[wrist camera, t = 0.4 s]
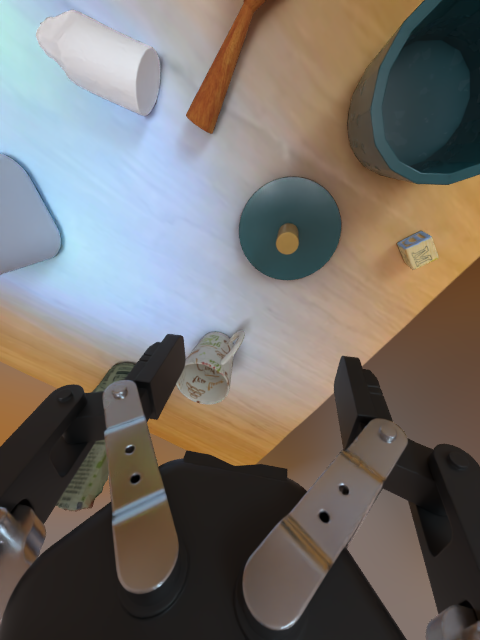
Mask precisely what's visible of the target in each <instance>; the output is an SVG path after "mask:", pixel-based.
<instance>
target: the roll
mask: <svg viewBox="0 0 480 640" xmlns="http://www.w3.org/2000/svg"><path fill="white" fill-rule="evenodd" d="M40 25H41V26H40V27H39V28H38V29H37V32H36V38H37V40H38V43H39V45H40V47H41V48H42V49H43V50H44V51H45V53H46V54H47V55H48V56H49V57H51V58H52V59H54V60H55V61H56V62H57V63H58V64H59V65H60V67H61V68H62V69H63V70H64V71H65V73H66V75H67V76H68V78H69V79H70V80H71V81H72V82H73V83H75V84H76V85H77V86H79V87H81V88H83V89H85V90H87V91H89V92H91V93H93V94H96V95H98V96H100V97H102V98H104V99H106V100H108V101H111V102H113V103H115V104H117V105H119V106H122V107H124V108H127V109H129V110H131V111H133V112H136V113H138V114H140V115H142V116H146V115H148V114H149V113H150V112H151V111H152V109H153V107H154V105H155V102H156V100H157V97H158V93H159V87H160V61H159V57H158V54H157V52H156V51H155V50H154V49H153V48H152V47H150V46H148V45H146V44H143V43H141V42H139V41H137V40H134V39H132V38H130V37H128V36H126V35H124V34H122V33H120V32H118V31H116V30H113V29H111V28H109V27H108V26H105V25H104V24H102V23H100V22H98V21H96V20H94V19H93V18H90V17H88V16H86V15H84V14H82V13H80V12H78V11H75V10H69V11H67V12H64V13H62V14H61V15H58V16H56V17H48V18H46V19H45V21H44V22H42V23H40Z"/></svg>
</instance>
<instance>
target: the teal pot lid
mask: <svg viewBox="0 0 480 640" xmlns="http://www.w3.org/2000/svg"><path fill="white" fill-rule="evenodd" d="M340 234H341V217H340V213H339V209H338V207H337V204H336V202H335V201H334V199H333V197H332V196H331V195H330V194H329V192H328V191H327V190H326V189H325V188H323V187H322V186H321V185H319V184H318V183H316V182H314V181H312V180H310V179H306V178H303V177H283V178H279V179H276V180H273V181H271V182H269V183H267V184H265V185H264V186H262V187H261V188H260V189H259V190H258V191H256V192H255V193H254V194H253V196H252V197H251V198H250V199H249V201H248V202H247V204H246V206H245V208H244V210H243V212H242V215H241V219H240V224H239V238H240V243H241V247H242V250H243V252H244V254H245V256H246V257H247V259H248V260H249V262H250V263H251V264H252V265H253V266H254V267H255V268H256V269H257V270H258V271H260V272H261V273H263V274H265V275H267V276H269V277H272V278H275V279H281V280H295V279H300V278H303V277H306V276H309V275H311V274H313V273H314V272H316V271H318V270H319V269H320V268H321V267H323V266H324V265H325V264H326V263H327V262H328V261H329V259H330V258H331V256H332V255H333V253H334V252H335V250H336V248H337V245H338V243H339V239H340Z"/></svg>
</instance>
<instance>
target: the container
mask: <svg viewBox="0 0 480 640" xmlns="http://www.w3.org/2000/svg"><path fill="white" fill-rule="evenodd" d="M347 126H348V137H349V141H350V145H351V148H352V150H353V152H354V154H355V156H356V157H357V159H358V160H359V161H360V162H361V163H362V165H363V166H364V167H366V168H368V169H370V170H371V171H373V172H376V173H377V174H379V175H382V176H386V177H390V178H394V179H399V180H403V181H407V182H411V183H416V184H435V185H449V184H452V183H455V182H458V181H461V180H464V179H467V178H470V177H473V176H476V175H479V174H480V0H424V1H423V2H422V3H421V4H420V5H419V6H418V8H417V9H416V10H415V11H414V12H413V13H412V14H411V15H410V16H409V17H408V18H407V19H406V20H405V21H404V22H403V24H402V25H401V26H400V27H399V29H398V30H397V31H396V32H395V33H394V35H393V36H392V37H391V38H390V40H389V41H388V42H387V43H386V45H385V46H384V47H383V48H382V50H381V51H380V52H379V53H378V55H377V56H376V57H375V58H374V59H373V61H372V62H371V63H370V64H369V66H368V67H367V68H366V70H365V72H364V74H363V76H362V78H361V80H360V81H359V83H358V85H357V87H356V90H355V92H354V93H353V96H352V100H351V104H350V108H349V114H348V122H347Z"/></svg>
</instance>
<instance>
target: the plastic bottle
mask: <svg viewBox="0 0 480 640" xmlns="http://www.w3.org/2000/svg"><path fill="white" fill-rule="evenodd" d="M60 246H61V237H60V233H59V230H58V228H57V226H56V224H55V222H54V221H53V219H52V217H51V215H50V213H49V212H48V210H47V208H46V206H45V204H44V202H43V201H42V199H41V197H40V195H39V193H38V192H37V190H36V188H35V186H34V184H33V182H32V181H31V179H30V177H29V176H28V174H27V173H26V171H25V170H24V169H23V168H22V167H21V166H20V165H19V164H18V163H17V162H15V161H14V160H13V159H11V158H9V157H8V156H6V155H3V154H0V274H3V273H7V272H10V271H13V270H16V269H19V268H22V267H26V266H29V265H32V264H35V263H38V262H41V261H44V260H48V259H50V258H52V257H54V256H55V255H56V254H57V253H58V251H59V249H60Z"/></svg>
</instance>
